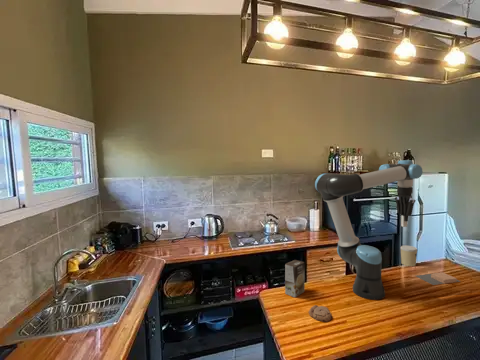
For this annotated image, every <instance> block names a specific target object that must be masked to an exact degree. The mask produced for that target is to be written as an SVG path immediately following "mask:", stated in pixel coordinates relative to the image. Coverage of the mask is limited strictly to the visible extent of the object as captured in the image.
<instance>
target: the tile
mask: <svg viewBox="0 0 480 360" xmlns="http://www.w3.org/2000/svg"><path fill="white" fill-rule="evenodd" d="M434 273H435V274H433V273H430V274H431V278H433V279H436V280H438V281H440V282H442V283H445V284H451V283H452V282H453V283H457V282H456V280H457V277H454V276H452V275H449V274H447V273H445V272H434ZM453 283H452V284H453Z"/></svg>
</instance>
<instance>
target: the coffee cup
mask: <svg viewBox="0 0 480 360" xmlns="http://www.w3.org/2000/svg"><path fill="white" fill-rule="evenodd" d="M417 257H418V248H417V247H416V246H413V245H401V246H400V262H401V265H403V266H406V267H416V266H417Z"/></svg>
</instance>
